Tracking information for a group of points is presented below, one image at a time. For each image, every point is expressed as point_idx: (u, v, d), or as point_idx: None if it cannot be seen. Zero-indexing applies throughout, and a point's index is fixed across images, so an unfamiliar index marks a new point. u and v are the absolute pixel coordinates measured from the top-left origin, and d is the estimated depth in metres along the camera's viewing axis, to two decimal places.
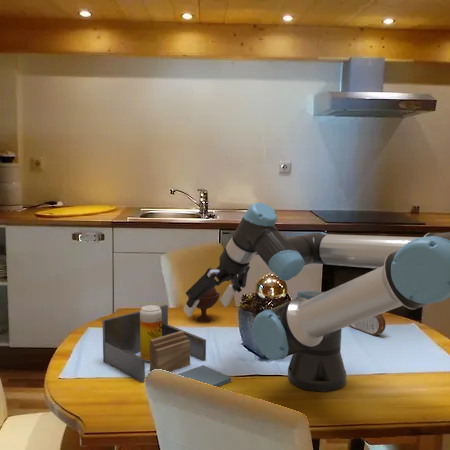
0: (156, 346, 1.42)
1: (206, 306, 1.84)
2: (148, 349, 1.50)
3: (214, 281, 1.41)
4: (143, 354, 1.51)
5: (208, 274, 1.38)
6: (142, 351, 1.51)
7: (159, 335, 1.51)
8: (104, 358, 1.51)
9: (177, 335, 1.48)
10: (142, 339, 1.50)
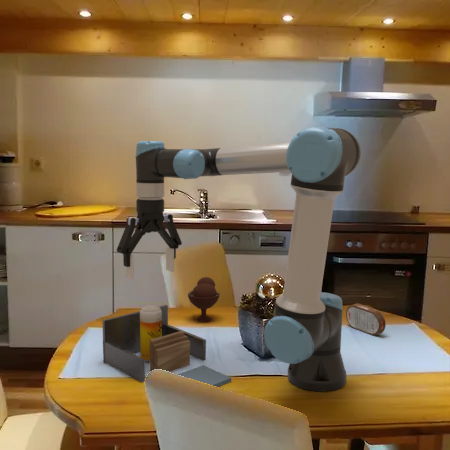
0: (156, 346, 1.42)
1: (206, 306, 1.84)
2: (148, 349, 1.50)
3: (139, 231, 1.45)
4: (143, 354, 1.51)
5: (128, 222, 1.43)
6: (142, 351, 1.51)
7: (159, 335, 1.51)
8: (104, 358, 1.51)
9: (177, 335, 1.48)
10: (142, 339, 1.50)
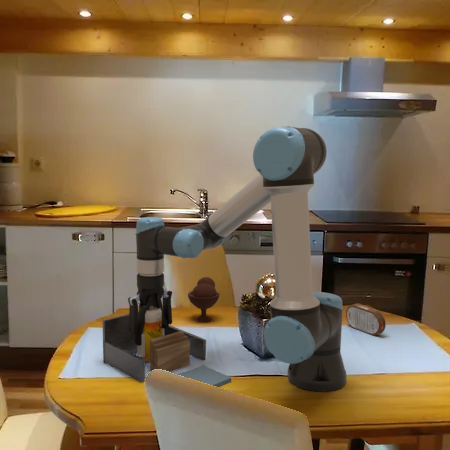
0: (156, 346, 1.42)
1: (206, 306, 1.84)
2: (148, 349, 1.50)
3: (143, 308, 1.49)
4: None
5: (131, 303, 1.47)
6: None
7: (159, 335, 1.51)
8: (104, 358, 1.51)
9: (177, 335, 1.48)
10: None
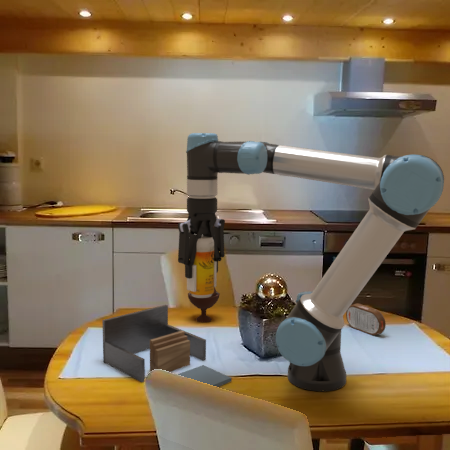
0: (156, 346, 1.42)
1: (206, 306, 1.84)
2: (199, 283, 1.33)
3: (194, 236, 1.32)
4: None
5: (181, 229, 1.29)
6: None
7: (212, 267, 1.34)
8: (104, 358, 1.51)
9: (177, 335, 1.48)
10: None
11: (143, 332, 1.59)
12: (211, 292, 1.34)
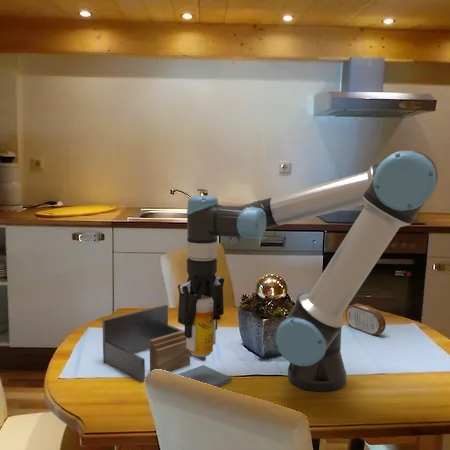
0: (156, 346, 1.42)
1: None
2: (199, 342, 1.35)
3: (194, 297, 1.34)
4: None
5: (181, 291, 1.32)
6: None
7: (211, 327, 1.36)
8: (104, 358, 1.51)
9: (177, 335, 1.48)
10: None
11: (143, 332, 1.59)
12: (210, 351, 1.37)
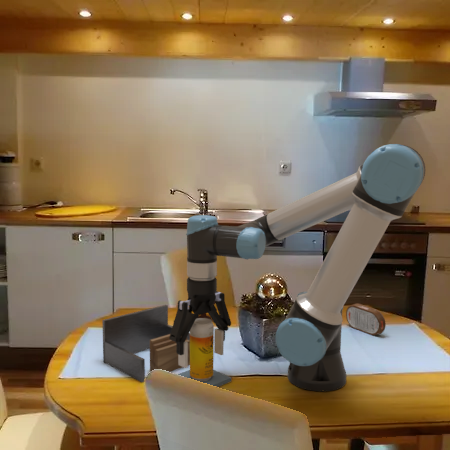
0: (155, 346, 1.42)
1: None
2: (199, 367, 1.36)
3: (191, 315, 1.34)
4: (193, 373, 1.37)
5: (180, 307, 1.32)
6: (192, 369, 1.37)
7: (211, 351, 1.37)
8: (104, 358, 1.51)
9: None
10: (193, 356, 1.36)
11: (143, 332, 1.59)
12: (211, 375, 1.38)
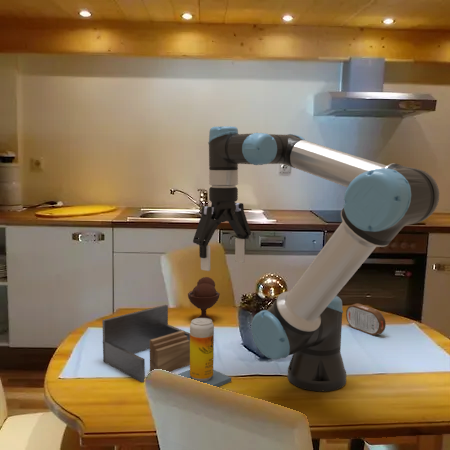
0: (155, 346, 1.42)
1: (206, 306, 1.84)
2: (199, 367, 1.36)
3: (214, 220, 1.39)
4: (193, 373, 1.37)
5: (204, 211, 1.37)
6: (192, 369, 1.37)
7: (211, 351, 1.37)
8: (104, 358, 1.51)
9: (177, 335, 1.48)
10: (193, 356, 1.36)
11: (143, 332, 1.59)
12: (211, 375, 1.38)
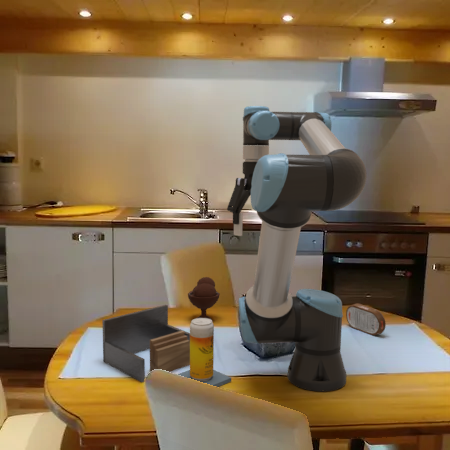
0: (156, 346, 1.42)
1: (206, 306, 1.84)
2: (199, 367, 1.36)
3: (247, 191, 1.55)
4: (193, 373, 1.37)
5: (238, 182, 1.53)
6: (192, 369, 1.37)
7: (211, 351, 1.37)
8: (104, 358, 1.51)
9: (177, 335, 1.48)
10: (193, 356, 1.36)
11: (143, 332, 1.59)
12: (211, 375, 1.38)
